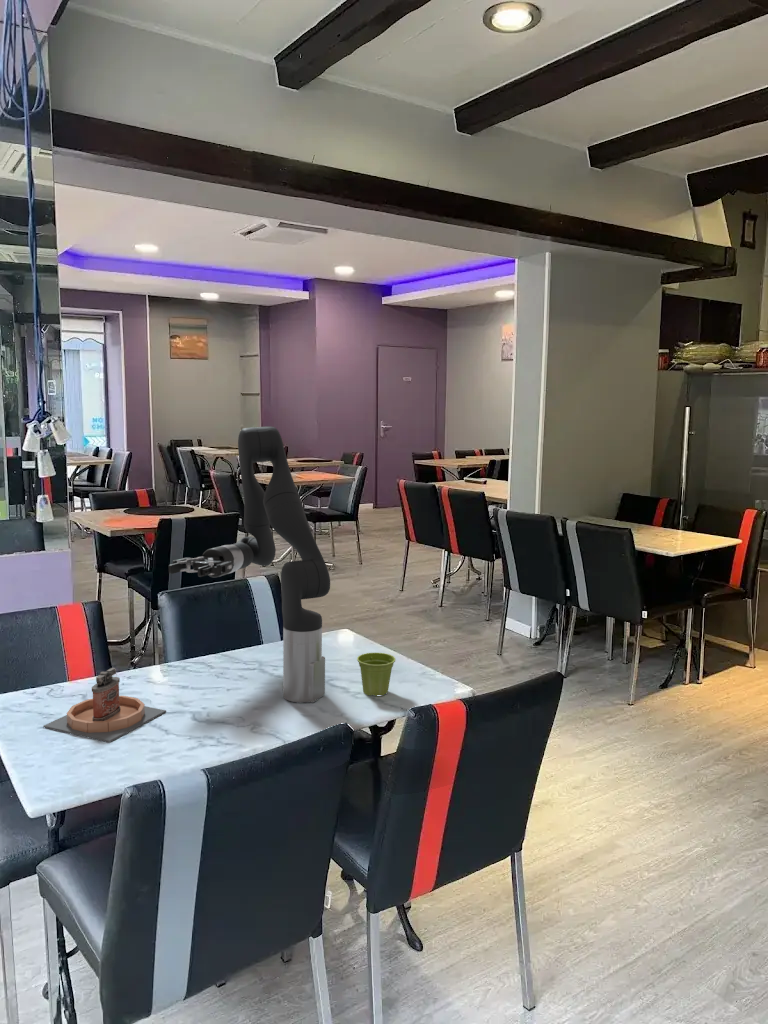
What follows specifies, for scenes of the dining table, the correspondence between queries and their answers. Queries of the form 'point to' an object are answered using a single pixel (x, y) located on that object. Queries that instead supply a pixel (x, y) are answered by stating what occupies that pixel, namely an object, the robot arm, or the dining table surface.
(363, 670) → the plant pot
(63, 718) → the mat
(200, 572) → the robot arm
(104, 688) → the lighter
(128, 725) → the dish
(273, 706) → the dining table surface
